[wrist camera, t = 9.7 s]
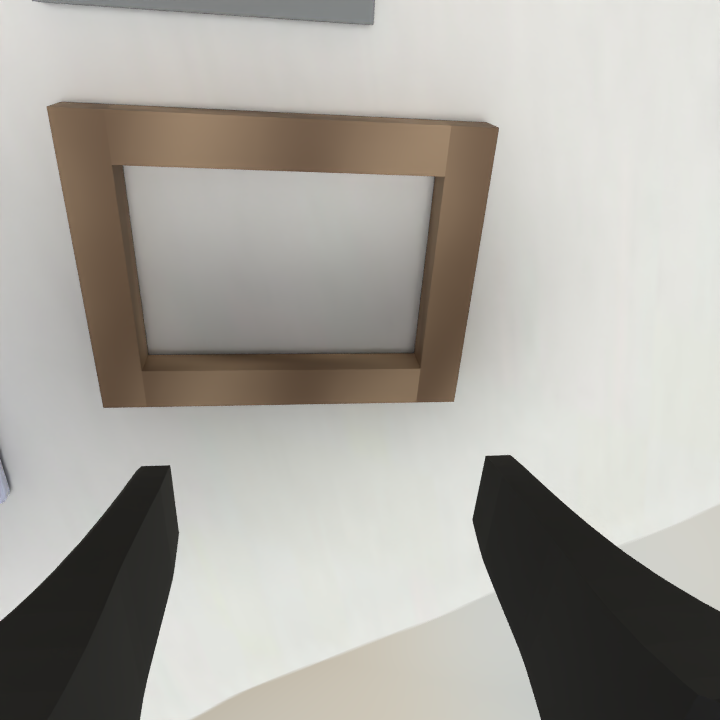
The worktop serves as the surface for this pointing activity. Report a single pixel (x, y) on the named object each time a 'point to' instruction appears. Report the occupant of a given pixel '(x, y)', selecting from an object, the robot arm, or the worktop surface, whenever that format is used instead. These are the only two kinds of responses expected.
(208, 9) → the slate mat
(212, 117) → the walnut frame
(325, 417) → the worktop surface
